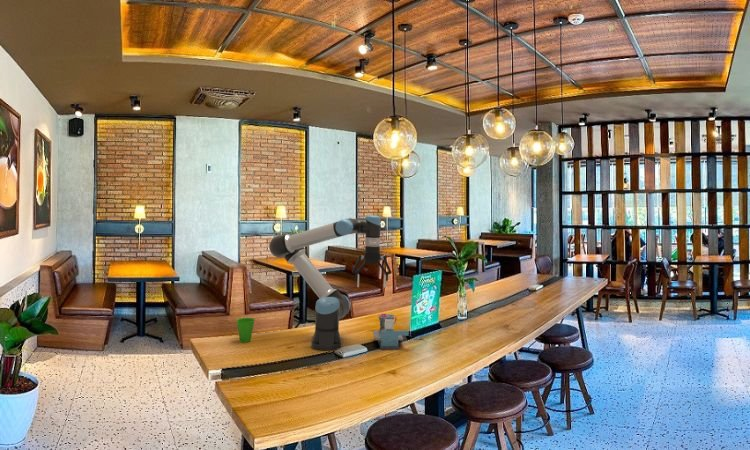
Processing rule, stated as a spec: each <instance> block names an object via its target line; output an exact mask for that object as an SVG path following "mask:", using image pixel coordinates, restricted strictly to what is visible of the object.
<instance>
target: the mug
mask: <svg viewBox="0 0 750 450" xmlns="http://www.w3.org/2000/svg"><path fill="white" fill-rule="evenodd" d="M377 318H378V320H379V330H384V322H385V319H393V321H394V325H395V324H396V322H397V317H396V316H395V315H394V314H392V313H380V314H378V315H377Z"/></svg>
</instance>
